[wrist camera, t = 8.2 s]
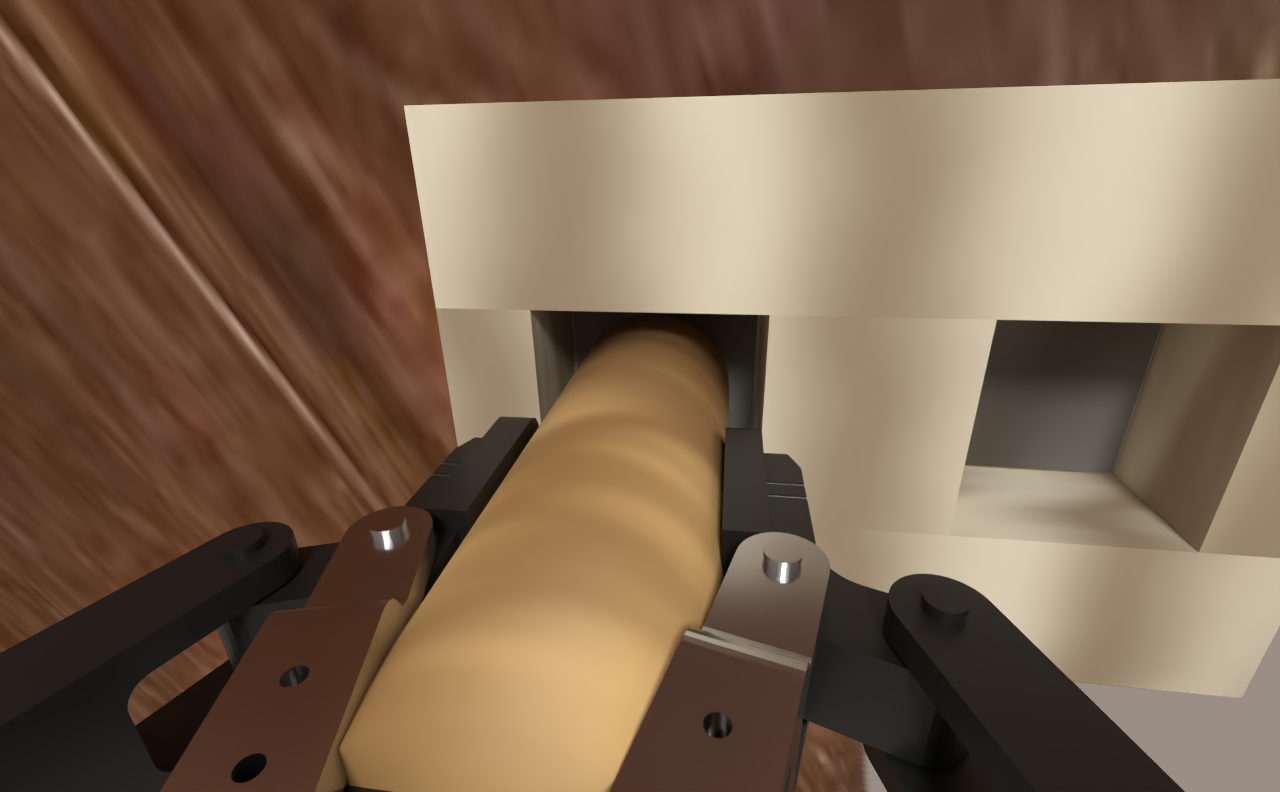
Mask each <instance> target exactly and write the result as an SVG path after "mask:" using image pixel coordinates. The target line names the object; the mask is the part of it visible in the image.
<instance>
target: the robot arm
mask: <svg viewBox="0 0 1280 792" xmlns="http://www.w3.org/2000/svg"><path fill="white" fill-rule="evenodd" d="M538 427H539V424H538V421H537V419H536V418H527V417H506V416H501V417H499V418H498V419H497V420H496V422H495V423H494V424H493V425H492V426H491V428H490V429H489V430H488V431H487V432H486V434H485V435H484V436H483V437H482V438H478V437H475V438H473V439H471V440H469V441H468V442H466V443H464V444H462V445H461V446H459V447H457V448H455V449H454V450H453V452H452V453H451V454H450V455H449V456H448V457H447V458H446V460H445V461H444V462H443V465H440V466H439V467H438V469H437V470H436V471H435V472H434V475H433V476H430V478H429V479H428V480H427V481H426V482H425V483H424V484H423V486H422V487H421V488H420V489H419V490H418V491H417V492H416V493H415V495H414V496H413V497H412V498H411V499H410V500H409V501H408V502H407V504H406V505H405V506H398V507H391V508H386V509H382V510H379V511H376V512H373V513H371V514H368V515H366V516H364V517H363V518H361V519H359V520H358V521H356V522H355V523H354V524H352V525H351V526H350V527H349V528H348V530H347V531H346V532H345V534H344V536H343V538H342V539H341V541H340V542H339V543H331V544H324V545H316V546H309V547H301V548H298V546H297V543H296V540H295V536H294V533H293V531H292V529H291V528H290V527H289V526H287V525H286V524H282V523H278V522H261V523H255V524H250V525H246V526H242V527H239V528H236V529H233V530H231V531H228V532H226V533H224V534H222V535H220V536H218V537H216V538H214V539H212V540H210V541H208V542H206V543H205V544H203V545H201V546H199V547H197V548H195V549H193V550H192V551H190V552H188V553H186V554H184V555H182V556H180V557H178V558H177V559H175V560H173V561H171V562H169V563H167V564H165V565H164V566H162V567H160V568H158V569H156V570H154V571H152V572H151V573H149V574H147V575H145V576H143V577H141V578H139V579H138V580H136V581H134V582H132V583H130V584H128V585H126V586H125V587H123V588H121V589H119V590H117V591H115V592H113V593H111V594H110V595H108V596H106V597H104V598H102V599H100V600H98V601H97V602H95V603H93V604H91V605H89V606H87V607H85V608H84V609H82V610H80V611H78V612H76V613H74V614H72V615H71V616H69V617H67V618H65V619H63V620H61V621H59V622H58V623H56V624H54V625H52V626H50V627H48V628H46V629H44V630H43V631H41V632H39V633H37V634H35V635H33V636H31V637H30V638H28V639H26V640H24V641H22V642H20V643H18V644H17V645H15V646H13V647H11V648H9V649H7V650H5V651H4V652H2V653H0V792H391V791H384V790H377V789H370V788H363V787H356V786H349V785H345V784H346V781H347V775H346V772H345V769H344V765H343V762H342V759H341V756H340V753H339V750H338V748H339V746H340V744H341V742H342V740H343V738H344V736H345V734H346V732H347V730H348V728H349V726H350V724H351V722H352V720H353V718H354V716H355V714H356V712H357V710H358V708H359V706H360V704H361V702H362V700H363V698H364V696H365V694H366V692H367V690H368V689H369V687H370V685H371V683H372V681H373V680H374V678H375V676H376V674H377V673H378V671H379V669H380V667H381V665H382V664H383V662H384V660H385V658H386V657H387V655H388V653H389V651H390V650H391V648H392V647H393V645H394V644H395V642H396V641H397V639H398V638H399V636H400V635H401V633H402V632H403V630H404V629H405V627H406V626H407V624H408V623H409V621H410V620H411V618H412V617H413V615H414V614H415V612H416V611H417V609H418V608H419V606H420V605H421V603H422V602H423V600H424V599H425V597H426V596H427V594H428V593H429V591H430V590H431V588H432V587H433V585H434V584H435V582H436V581H437V579H438V578H439V576H440V575H441V573H442V572H443V570H444V569H445V567H446V566H447V564H448V563H449V561H450V560H451V558H452V557H453V555H454V554H455V552H456V551H457V549H458V548H459V546H460V545H461V543H462V542H463V540H464V539H465V537H466V536H467V534H468V533H469V531H470V530H471V528H472V527H473V525H474V524H475V522H476V521H477V519H478V518H479V516H480V515H481V513H482V512H483V510H484V509H485V507H486V506H487V504H488V503H489V501H490V500H491V498H492V497H493V495H494V494H495V492H496V491H497V489H498V487H499V486H500V484H501V483H502V481H503V480H504V478H505V477H506V475H507V474H508V472H509V471H510V469H511V468H512V466H513V465H514V463H515V462H516V460H517V459H518V457H519V456H520V454H521V453H522V451H523V450H524V448H525V447H526V445H527V444H528V442H529V441H530V439H531V438H532V436H533V435H534V433H535V432H536V430H537V429H538ZM721 565H722V570H723V575H724V580H723V582H722V584H721V586H720V589H719V591H718V593H717V596H716V598H715V600H714V602H713V605H712V607H711V609H710V611H709V614H708V616H707V618H706V621H705V623H704V625H703V627H702V629H698V628H695V627H690V628H688V629H687V631H686V632H685V634H684V635H683V637H682V639H681V641H680V643H679V646H678V648H677V650H676V652H675V654H674V656H673V658H672V660H671V663H670V665H669V667H668V669H667V671H666V673H665V675H664V677H663V680H662V682H661V684H660V686H659V688H658V690H657V692H656V694H655V697H654V699H653V701H652V703H651V705H650V707H649V709H648V711H647V713H646V716H645V718H644V720H643V722H642V724H641V726H640V728H639V730H638V733H637V735H636V737H635V739H634V741H633V743H632V745H631V747H630V750H629V752H628V754H627V756H626V758H625V760H624V762H623V764H622V767H621V769H620V771H619V773H618V775H617V777H616V779H615V781H614V784H613V786H612V788H611V790H610V792H796V788H797V783H798V777H799V772H800V767H801V761H802V756H803V751H804V746H805V740H806V735H807V730H808V725H809V721H811V722H813V723H815V724H818V725H820V726H823V727H825V728H828V729H830V730H833V731H835V732H837V733H840V734H842V735H845V736H847V737H850V738H852V739H855V740H857V741H859V742H862V743H863V745H864V749H865V752H866V754H867V756H868V758H869V760H870V762H871V764H872V765H873V767H874V769H875V771H876V772H877V774H878V776H879V777H880V779H881V781H882V783H883V785H884V786H885V788H886V790H887V792H1184V790H1183V789H1181V788H1180V787H1179V786H1178V785H1177V784H1176V783H1175V782H1174V781H1173V780H1172V779H1171V778H1170V777H1169V776H1168V775H1167V774H1166V773H1165V772H1164V771H1163V770H1162V769H1161V768H1160V767H1159V766H1158V765H1157V764H1156V763H1155V762H1154V761H1153V760H1152V759H1151V758H1150V757H1149V756H1148V755H1147V754H1146V753H1144V751H1143V750H1142V749H1141V748H1140V747H1138V746H1137V744H1136V743H1134V742H1133V741H1132V740H1131V739H1130V738H1129V737H1128V736H1127V735H1126V734H1125V733H1124V732H1123V731H1122V730H1121V729H1120V728H1119V727H1118V726H1117V725H1116V724H1115V723H1114V722H1113V721H1112V720H1111V719H1110V718H1109V717H1108V716H1107V715H1106V714H1105V713H1104V712H1103V711H1102V710H1101V709H1100V708H1099V707H1098V706H1097V705H1096V704H1095V703H1094V702H1093V701H1092V700H1091V699H1090V698H1089V697H1088V696H1086V695H1085V694H1084V693H1083V692H1082V691H1081V690H1080V689H1079V688H1078V687H1077V686H1076V685H1075V684H1074V683H1073V682H1072V681H1071V680H1070V679H1069V678H1068V677H1067V676H1066V675H1065V674H1064V673H1063V672H1062V671H1061V670H1060V669H1059V668H1058V667H1057V666H1056V665H1055V664H1054V663H1053V662H1052V661H1051V660H1050V659H1049V658H1048V657H1047V656H1046V655H1045V654H1044V653H1043V652H1042V651H1041V650H1040V649H1039V648H1038V647H1037V646H1035V645H1034V644H1033V643H1032V642H1031V641H1030V640H1029V639H1028V638H1027V637H1026V636H1025V635H1024V634H1023V633H1022V632H1021V631H1020V630H1019V629H1018V628H1017V627H1016V626H1015V625H1014V624H1013V623H1012V622H1011V621H1010V620H1009V619H1008V618H1007V617H1006V616H1005V615H1004V614H1003V613H1002V612H1001V611H1000V610H999V609H998V608H997V607H996V606H995V605H994V604H993V603H992V602H991V601H990V600H988V599H987V598H986V597H985V596H984V595H983V594H981V593H980V592H978V591H977V590H975V589H974V588H972V587H970V586H968V585H966V584H964V583H962V582H960V581H957V580H954V579H951V578H948V577H944V576H940V575H934V574H912V575H908V576H904V577H902V578H900V579H898V580H897V581H895V582H894V583H893V584H892V586H891V587H890V590H889V593H886V592H883V591H879V590H876V589H873V588H869V587H866V586H863V585H860V584H857V583H854V582H852V581H850V580H848V579H846V578H844V577H842V576H840V575H839V574H837V573H836V572H835V571H833V570H832V569H831V568H830V563H829V560H828V558H827V556H826V554H825V553H824V552H823V551H822V550H821V549H820V548H819V547H818V546H817V545H816V542H815V537H814V531H813V526H812V521H811V516H810V511H809V506H808V501H807V496H806V491H805V487H804V480H803V475H802V470H801V467H800V466H799V465H798V464H797V463H796V462H795V461H794V460H793V459H792V458H791V457H790V456H789V455H788V454H775V453H764V450H763V439H762V429H752V428H731V427H726V430H725V455H724V485H723V515H722V544H721ZM216 629H218V632H219V635H220V637H221V640H222V642H223V645H224V647H225V650H226V653H227V655H228V658H229V660H228V661H226V662H225V663H223V664H222V665H220V666H219V667H218V668H216V669H215V670H213V671H212V672H211V673H209V674H208V675H206V676H205V677H204V678H202V679H201V680H199V681H198V682H197V683H195V684H194V685H192V686H191V687H189V688H188V689H187V690H185V691H184V692H182V693H181V694H180V695H178V696H177V697H175V698H174V699H173V700H171V701H170V702H168V703H167V704H166V705H164V706H163V707H161V708H160V709H158V710H157V711H156V712H154V713H153V714H151V715H150V716H149V717H147V718H146V719H144V720H143V721H142V722H140V723H139V724H137V725H136V726H135V725H134V723H133V721H132V719H131V717H130V715H129V713H128V709H127V705H128V700H129V697H130V695H131V693H132V691H133V689H134V688H135V687H136V685H137V684H138V683H139V682H140V681H141V680H142V679H143V678H144V677H145V676H146V675H148V674H149V673H150V672H152V671H153V670H155V669H156V668H158V667H160V666H161V665H163V664H164V663H166V662H167V661H169V660H170V659H172V658H173V657H175V656H176V655H178V654H179V653H181V652H182V651H184V650H185V649H187V648H188V647H190V646H191V645H193V644H194V643H196V642H198V641H199V640H201V639H202V638H204V637H205V636H207V635H208V634H210V633H211V632H213V631H214V630H216Z"/></svg>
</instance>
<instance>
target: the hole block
mask: <svg viewBox="0 0 1280 792" xmlns="http://www.w3.org/2000/svg"><path fill="white" fill-rule="evenodd" d="M404 110H405V116H406V122H407V128H408V135H409V141H410V147H411V154H412V160H413V166H414V173H415V179H416V185H417V191H418V198H419V204H420V210H421V217H422V223H423V229H424V236H425V242H426V248H427V255H428V261H429V267H430V273H431V280H432V286H433V292H434V299H435V305H436V311H437V318H438V324H439V330H440V336H441V343H442V349H443V355H444V362H445V368H446V374H447V381H448V387H449V393H450V400H451V406H452V412H453V418H454V425H455V431H456V437H457V444H458V447H459V446H461V445H462V444H464V443H466V442H468V441H469V440H471V439H473V438H475V437H478V438H482V437H483V436H484V435H485V434H486V432H487V431H488V430H489V429H490V428H491V426H492V425H493V424H494V423H495V422H496V420H497V419H498V418H499V417H501V416H506V417H527V418H536V419H537V421H538V424H539V426H540V424H541V423H542V421H543V420H544V418H545V417H546V415H547V414H548V412H549V411H550V409H551V408H552V406H553V405H554V403H555V402H556V400H557V399H558V397H559V396H560V394H561V393H562V391H563V390H564V388H565V387H566V385H567V384H568V382H569V381H570V379H571V378H572V376H573V375H574V373H575V372H576V370H577V369H578V367H579V366H580V364H581V363H582V361H583V360H584V358H585V357H586V355H587V354H588V352H589V351H590V349H591V348H592V346H593V345H594V343H595V342H596V340H597V339H598V338H599V337H600V336H601V335H602V334H603V333H604V332H605V331H606V330H607V329H609V328H610V327H611V326H613V325H615V324H616V323H618V322H620V321H622V320H624V319H627V318H630V317H634V316H638V315H644V314H660V315H667V316H672V317H676V318H678V319H681V320H684V321H686V322H688V323H690V324H692V325H694V326H695V327H697V328H698V329H700V330H701V331H702V332H703V333H705V334H706V335H707V336H708V337H709V338H710V339H711V340H712V342H713V343H714V344H715V345H716V347H717V348H718V350H719V351H720V353H721V355H722V357H723V359H724V361H725V364H726V367H727V371H728V377H729V417H728V427H731V428H752V429H762V439H763V450H764V453H775V454H788V455H789V456H790V457H791V458H792V459H793V460H794V461H795V462H796V463H797V464H798V465H799V466H800V467H801V470H802V475H803V480H804V487H805V491H806V496H807V501H808V506H809V511H810V516H811V521H812V526H813V531H814V537H815V542H816V545H817V546H818V547H819V548H820V549H821V550H822V551H823V552H824V553H825V554H826V556H827V558H828V560H829V563H830V568H831V569H832V570H833V571H835V572H836V573H837V574H839V575H840V576H842V577H844V578H846V579H848V580H850V581H852V582H854V583H857V584H860V585H863V586H866V587H869V588H873V589H876V590H879V591H883V592H886V593H889V590H890V587H891V586H892V584H893V583H894V582H895V581H897V580H898V579H900V578H902V577H904V576H908V575H912V574H934V575H940V576H944V577H948V578H951V579H954V580H957V581H960V582H962V583H964V584H966V585H968V586H970V587H972V588H974V589H975V590H977V591H978V592H980V593H981V594H983V595H984V596H985V597H986V598H987V599H988V600H990V601H991V602H992V603H993V604H994V605H995V606H996V607H997V608H998V609H999V610H1000V611H1001V612H1002V613H1003V614H1004V615H1005V616H1006V617H1007V618H1008V619H1009V620H1010V621H1011V622H1012V623H1013V624H1014V625H1015V626H1016V627H1017V628H1018V629H1019V630H1020V631H1021V632H1022V633H1023V634H1024V635H1025V636H1026V637H1027V638H1028V639H1029V640H1030V641H1031V642H1032V643H1033V644H1034V645H1035V646H1037V647H1038V648H1039V649H1040V650H1041V651H1042V652H1043V653H1044V654H1045V655H1046V656H1047V657H1048V658H1049V659H1050V660H1051V661H1052V662H1053V663H1054V664H1055V665H1056V666H1057V667H1058V668H1059V669H1060V670H1061V671H1062V672H1063V673H1064V674H1065V675H1066V676H1067V677H1068V678H1069V679H1070V680H1071V681H1072V682H1080V683H1090V684H1100V685H1111V686H1120V687H1130V688H1141V689H1151V690H1161V691H1171V692H1182V693H1192V694H1202V695H1212V696H1223V697H1232V698H1242V697H1243V695H1244V693H1245V691H1246V690H1247V688H1248V686H1249V684H1250V682H1251V680H1252V678H1253V676H1254V674H1255V672H1256V670H1257V669H1258V667H1259V664H1260V662H1261V660H1262V659H1263V657H1264V655H1265V653H1266V651H1267V649H1268V647H1269V646H1270V644H1271V641H1272V640H1273V638H1274V636H1275V634H1276V632H1277V630H1278V628H1279V626H1280V79H1263V80H1230V81H1198V82H1165V83H1132V84H1099V85H1066V86H1033V87H1001V88H968V89H935V90H902V91H869V92H837V93H804V94H771V95H738V96H705V97H672V98H640V99H607V100H574V101H541V102H508V103H476V104H443V105H410V106H404Z"/></svg>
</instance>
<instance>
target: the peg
mask: <svg viewBox="0 0 1280 792" xmlns="http://www.w3.org/2000/svg"><path fill="white" fill-rule="evenodd" d="M728 417H729V377H728V371H727V367H726V364H725V361H724V359H723V357H722V355H721V353H720V351H719V350H718V348H717V347H716V345H715V344H714V343H713V342H712V340H711V339H710V338H709V337H708V336H707V335H706V334H705V333H703V332H702V331H701V330H700V329H698V328H697V327H695V326H694V325H692V324H690V323H688V322H686V321H684V320H681V319H678V318H676V317H672V316H667V315H660V314H644V315H638V316H634V317H630V318H627V319H624V320H622V321H620V322H618V323H616V324H615V325H613V326H611V327H610V328H609V329H607V330H606V331H605V332H604V333H603V334H602V335H601V336H600V337H599V338H598V339H597V340H596V342H595V343H594V345H593V346H592V348H591V349H590V351H589V352H588V354H587V355H586V357H585V358H584V360H583V361H582V363H581V364H580V366H579V367H578V369H577V370H576V372H575V373H574V375H573V376H572V378H571V379H570V381H569V382H568V384H567V385H566V387H565V388H564V390H563V391H562V393H561V394H560V396H559V397H558V399H557V400H556V402H555V403H554V405H553V406H552V408H551V409H550V411H549V412H548V414H547V415H546V417H545V418H544V420H543V421H542V423H541V424H540V426H539V427H538V429H537V430H536V432H535V433H534V435H533V436H532V438H531V439H530V441H529V442H528V444H527V445H526V447H525V448H524V450H523V451H522V453H521V454H520V456H519V457H518V459H517V460H516V462H515V463H514V465H513V466H512V468H511V469H510V471H509V472H508V474H507V475H506V477H505V478H504V480H503V481H502V483H501V484H500V486H499V487H498V489H497V491H496V492H495V494H494V495H493V497H492V498H491V500H490V501H489V503H488V504H487V506H486V507H485V509H484V510H483V512H482V513H481V515H480V516H479V518H478V519H477V521H476V522H475V524H474V525H473V527H472V528H471V530H470V531H469V533H468V534H467V536H466V537H465V539H464V540H463V542H462V543H461V545H460V546H459V548H458V549H457V551H456V552H455V554H454V555H453V557H452V558H451V560H450V561H449V563H448V564H447V566H446V567H445V569H444V570H443V572H442V573H441V575H440V576H439V578H438V579H437V581H436V582H435V584H434V585H433V587H432V588H431V590H430V591H429V593H428V594H427V596H426V597H425V599H424V600H423V602H422V603H421V605H420V606H419V608H418V609H417V611H416V612H415V614H414V615H413V617H412V618H411V620H410V621H409V623H408V624H407V626H406V627H405V629H404V630H403V632H402V633H401V635H400V636H399V638H398V639H397V641H396V642H395V644H394V645H393V647H392V648H391V650H390V651H389V653H388V655H387V657H386V658H385V660H384V662H383V664H382V665H381V667H380V669H379V671H378V673H377V674H376V676H375V678H374V680H373V681H372V683H371V685H370V687H369V689H368V690H367V692H366V694H365V696H364V698H363V700H362V702H361V704H360V706H359V708H358V710H357V712H356V714H355V716H354V718H353V720H352V722H351V724H350V726H349V728H348V730H347V732H346V734H345V736H344V738H343V740H342V742H341V744H340V746H339V748H338V750H339V753H340V756H341V759H342V762H343V765H344V769H345V772H346V775H347V781H346V784H345V785H349V786H356V787H363V788H370V789H377V790H384V791H391V792H610V790H611V788H612V786H613V784H614V781H615V779H616V777H617V775H618V773H619V771H620V769H621V767H622V764H623V762H624V760H625V758H626V756H627V754H628V752H629V750H630V747H631V745H632V743H633V741H634V739H635V737H636V735H637V733H638V730H639V728H640V726H641V724H642V722H643V720H644V718H645V716H646V713H647V711H648V709H649V707H650V705H651V703H652V701H653V699H654V697H655V694H656V692H657V690H658V688H659V686H660V684H661V682H662V680H663V677H664V675H665V673H666V671H667V669H668V667H669V665H670V663H671V660H672V658H673V656H674V654H675V652H676V650H677V648H678V646H679V643H680V641H681V639H682V637H683V635H684V634H685V632H686V631H687V629H688V628H690V627H695V628H698V629H702V627H703V625H704V623H705V621H706V618H707V616H708V614H709V611H710V609H711V607H712V605H713V602H714V600H715V598H716V596H717V593H718V591H719V589H720V586H721V584H722V582H723V580H724V575H723V570H722V565H721V544H722V515H723V485H724V455H725V430H726V427H728Z"/></svg>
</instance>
